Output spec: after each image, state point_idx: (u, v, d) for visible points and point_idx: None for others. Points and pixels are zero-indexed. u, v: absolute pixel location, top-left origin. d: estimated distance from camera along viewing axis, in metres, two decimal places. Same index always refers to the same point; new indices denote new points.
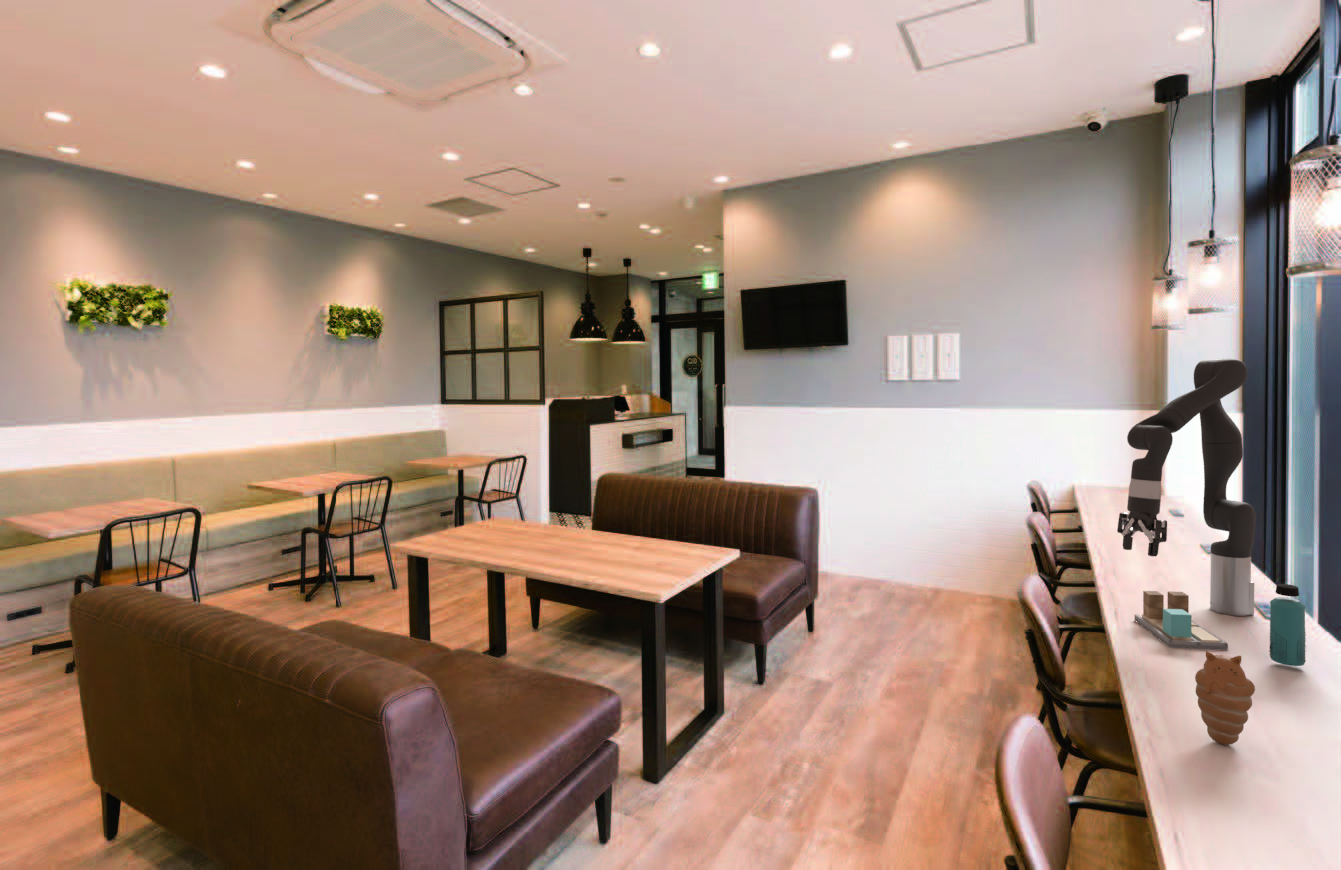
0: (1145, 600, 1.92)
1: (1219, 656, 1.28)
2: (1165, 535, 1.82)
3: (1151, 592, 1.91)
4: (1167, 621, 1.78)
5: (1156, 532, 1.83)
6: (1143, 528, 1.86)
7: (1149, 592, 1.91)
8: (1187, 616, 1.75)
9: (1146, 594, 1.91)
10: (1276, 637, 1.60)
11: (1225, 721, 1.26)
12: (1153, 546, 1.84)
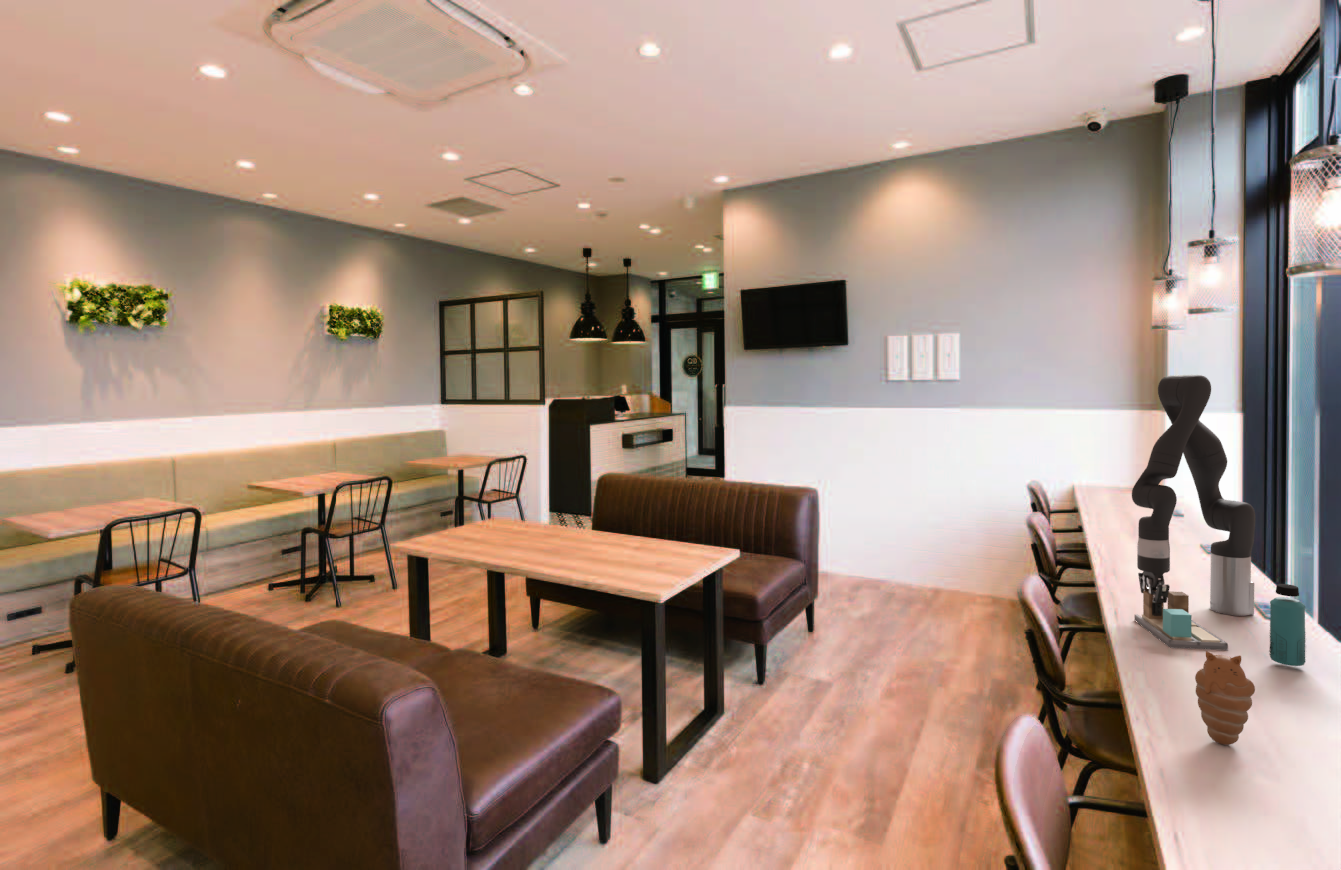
0: (1145, 600, 1.92)
1: (1219, 656, 1.28)
2: (1165, 598, 1.85)
3: None
4: (1167, 621, 1.78)
5: (1156, 594, 1.86)
6: (1149, 587, 1.89)
7: None
8: (1187, 616, 1.75)
9: (1146, 594, 1.91)
10: (1276, 637, 1.60)
11: (1225, 721, 1.26)
12: (1155, 606, 1.88)
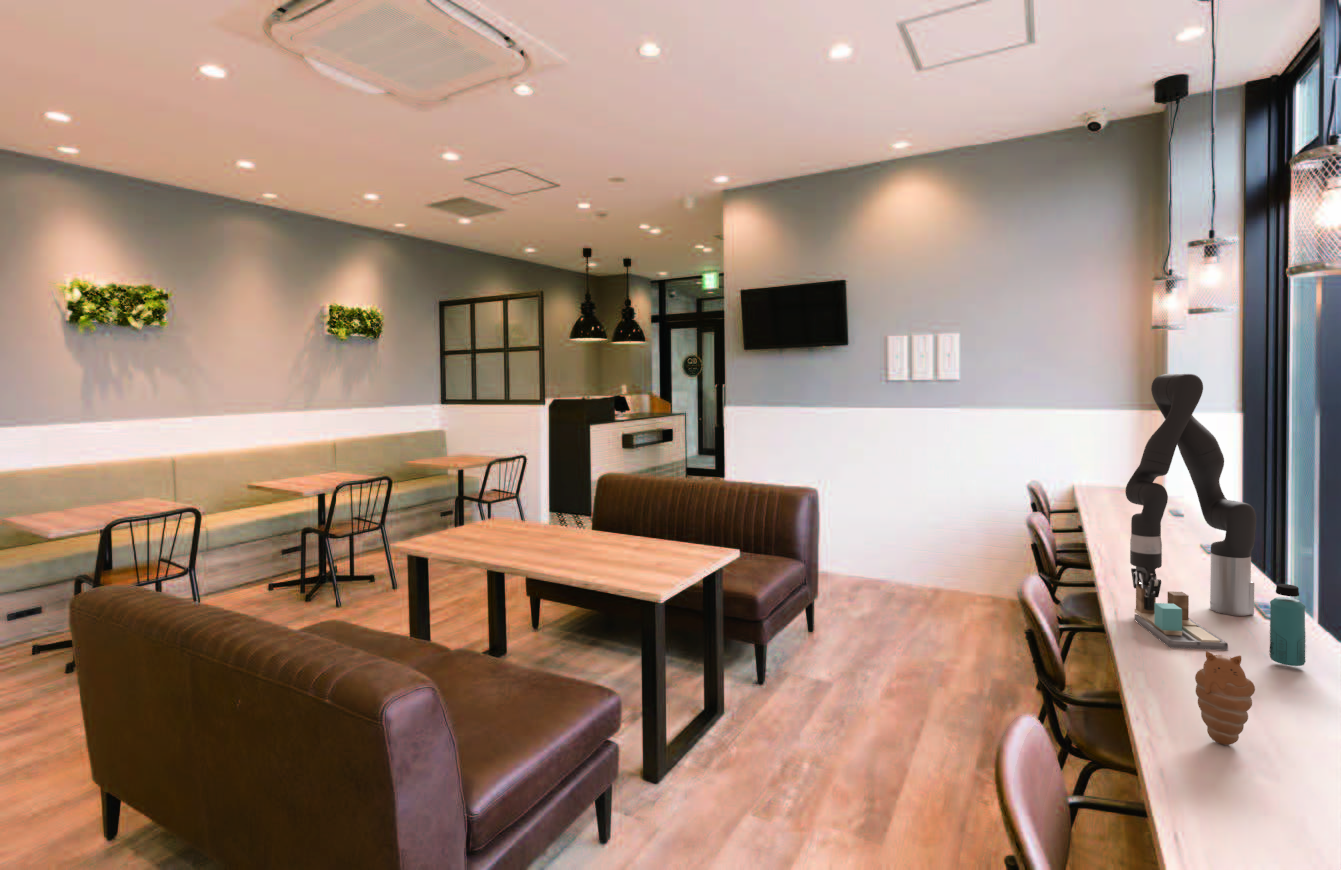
0: (1138, 595, 1.96)
1: (1219, 656, 1.28)
2: (1157, 592, 1.90)
3: None
4: (1159, 614, 1.83)
5: (1148, 589, 1.91)
6: (1141, 582, 1.94)
7: None
8: (1178, 610, 1.80)
9: (1138, 589, 1.96)
10: (1276, 637, 1.60)
11: (1225, 721, 1.26)
12: (1147, 601, 1.93)
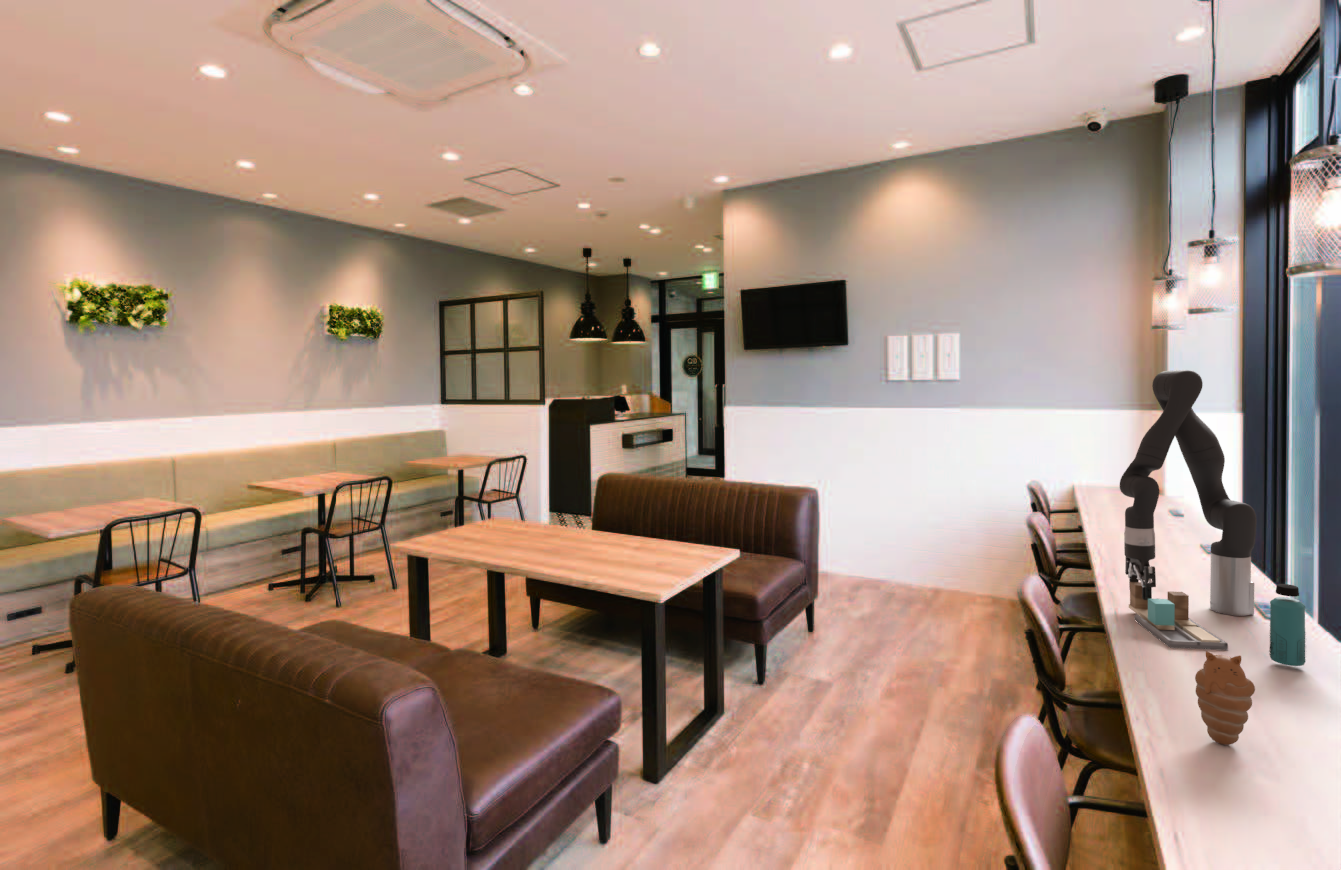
0: (1132, 591, 2.00)
1: (1219, 656, 1.28)
2: (1154, 581, 1.92)
3: (1137, 583, 2.00)
4: (1152, 610, 1.87)
5: (1144, 578, 1.93)
6: (1137, 573, 1.97)
7: (1135, 583, 2.00)
8: (1170, 605, 1.84)
9: (1132, 585, 2.00)
10: (1276, 637, 1.60)
11: (1225, 721, 1.26)
12: (1145, 590, 1.95)
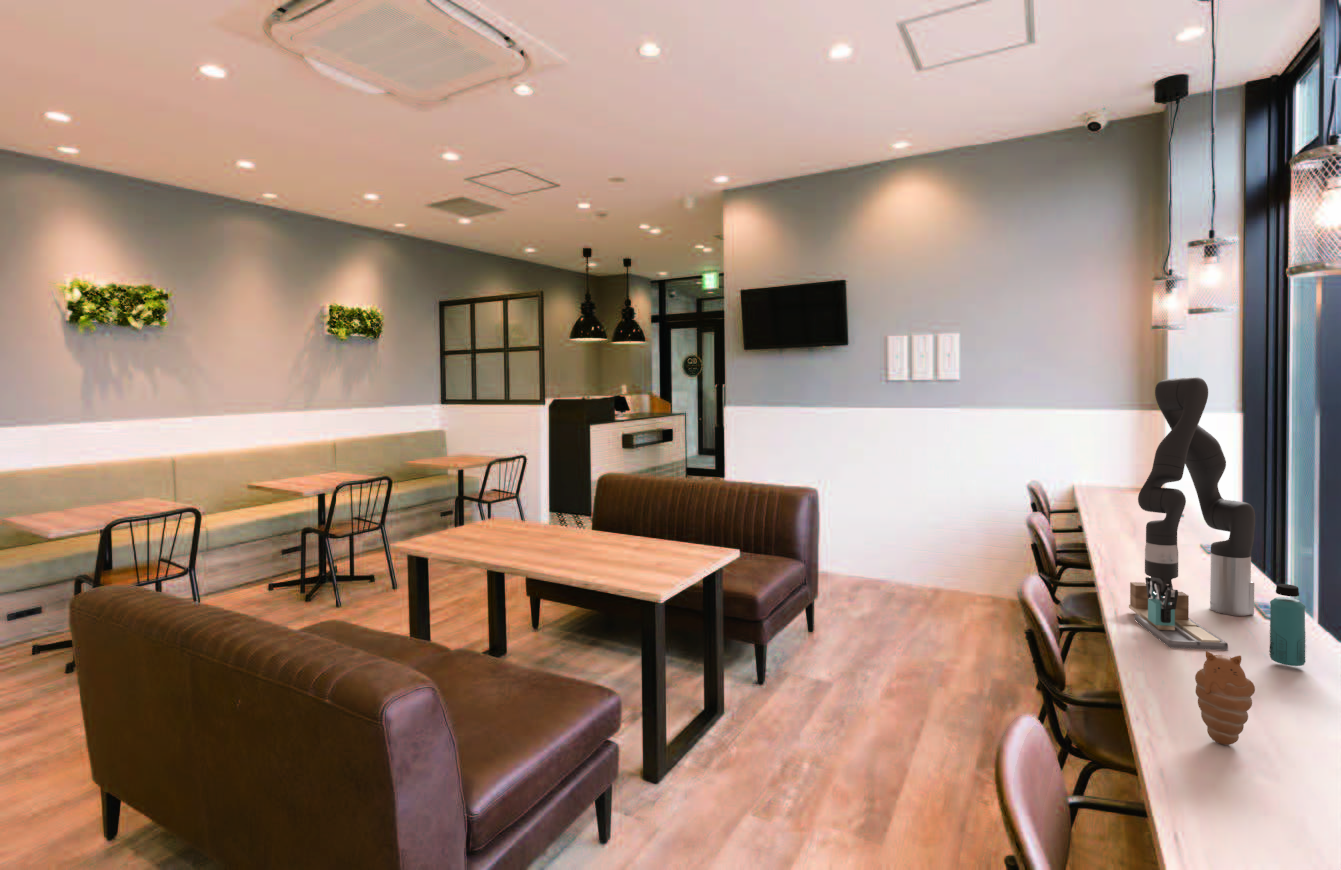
0: (1132, 591, 2.00)
1: (1219, 656, 1.28)
2: (1174, 604, 1.80)
3: (1138, 583, 1.99)
4: (1152, 610, 1.86)
5: (1165, 600, 1.81)
6: (1157, 593, 1.85)
7: (1136, 583, 2.00)
8: None
9: (1133, 585, 1.99)
10: (1276, 637, 1.60)
11: (1225, 721, 1.26)
12: (1164, 613, 1.83)
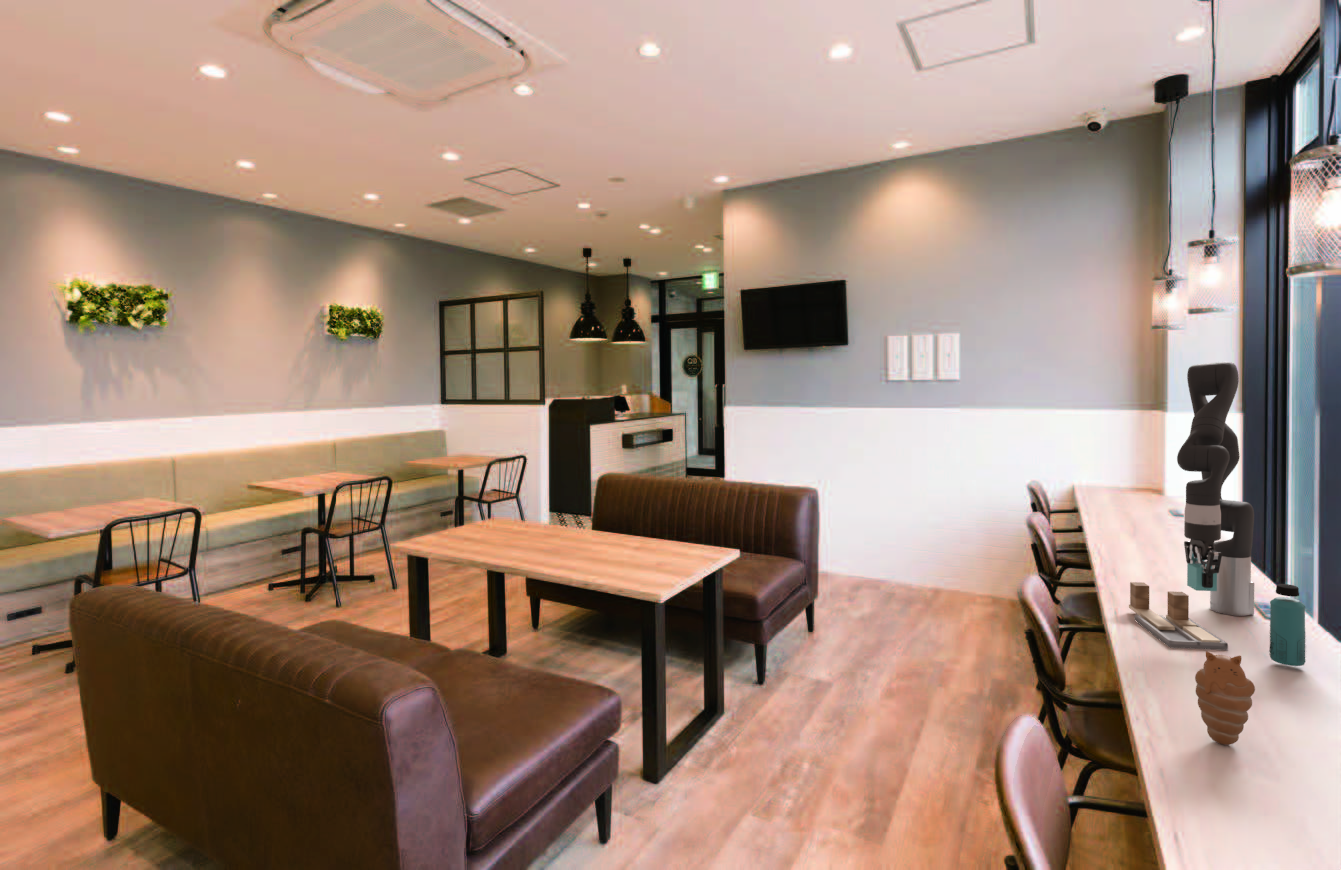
0: (1132, 591, 2.00)
1: (1219, 656, 1.28)
2: (1217, 567, 1.70)
3: (1138, 583, 1.99)
4: (1192, 575, 1.76)
5: (1207, 563, 1.71)
6: (1198, 556, 1.75)
7: (1136, 583, 2.00)
8: None
9: (1133, 585, 1.99)
10: (1276, 637, 1.60)
11: (1225, 721, 1.26)
12: (1206, 577, 1.73)
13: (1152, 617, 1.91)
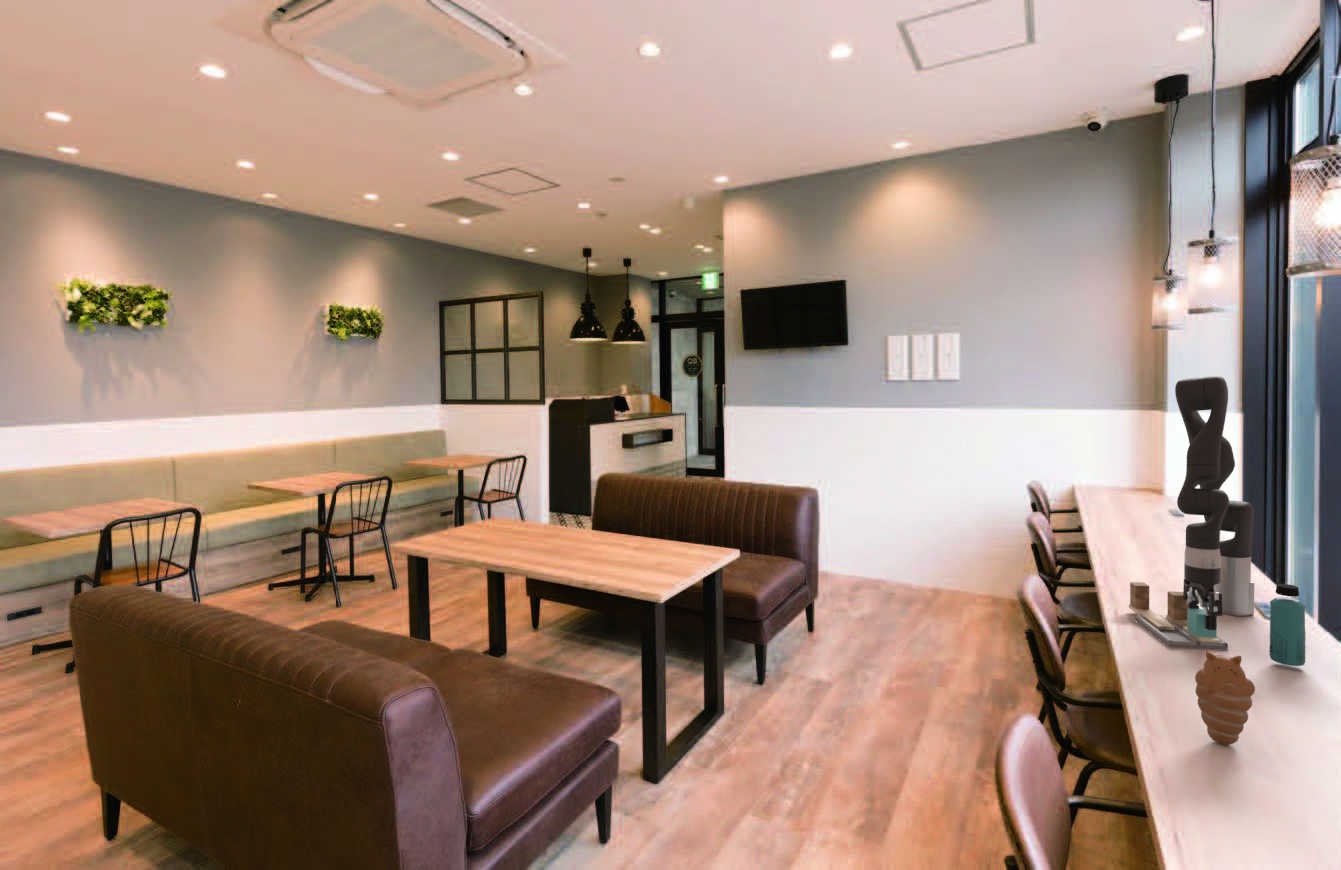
0: (1132, 591, 2.00)
1: (1219, 656, 1.28)
2: (1220, 609, 1.70)
3: (1138, 583, 1.99)
4: (1192, 620, 1.77)
5: (1209, 605, 1.71)
6: (1199, 599, 1.75)
7: (1136, 583, 2.00)
8: None
9: (1133, 585, 1.99)
10: (1276, 637, 1.60)
11: (1225, 721, 1.26)
12: (1209, 619, 1.72)
13: (1152, 617, 1.91)
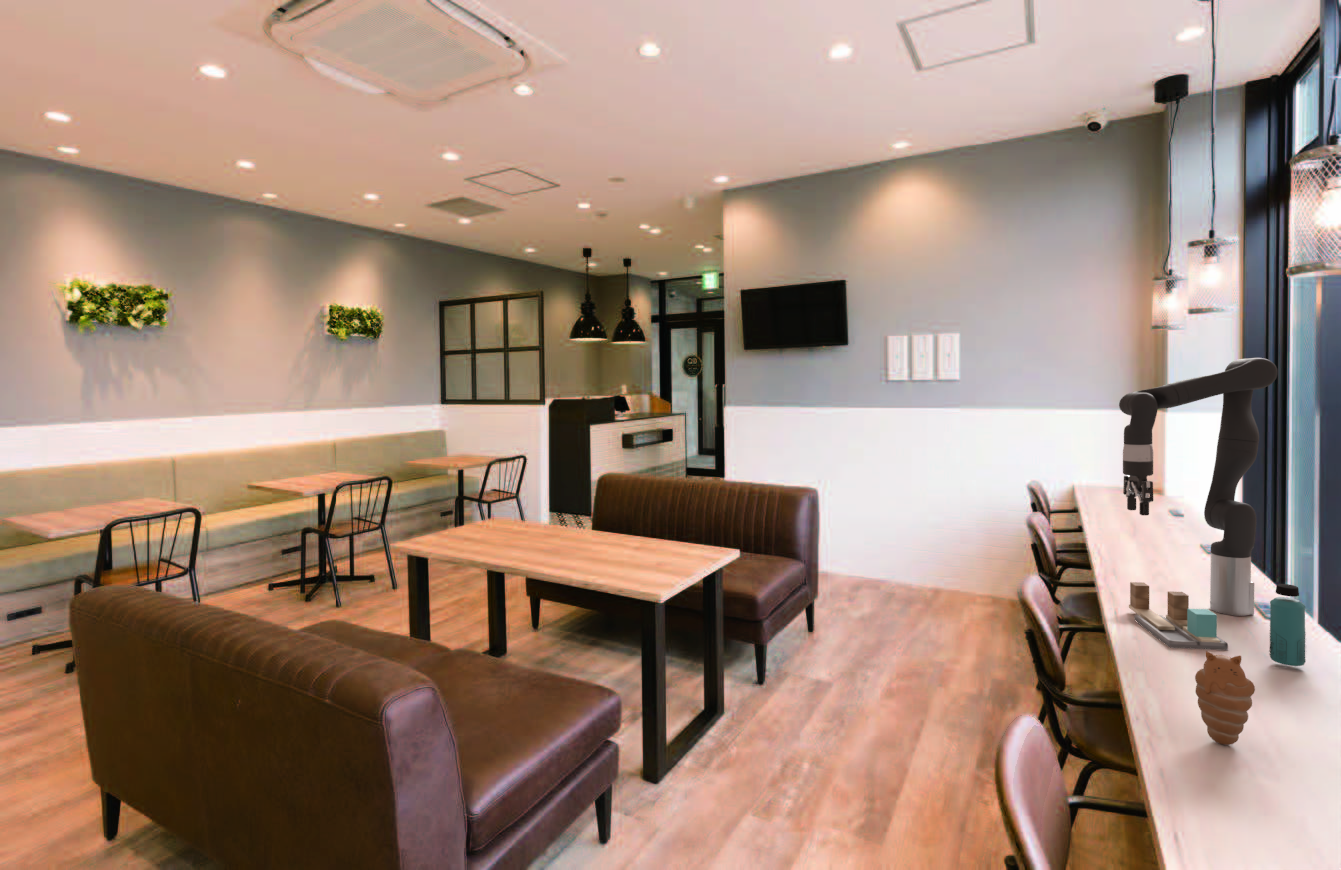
0: (1132, 591, 2.00)
1: (1219, 656, 1.28)
2: (1151, 495, 1.94)
3: (1138, 583, 1.99)
4: (1192, 620, 1.77)
5: (1142, 493, 1.95)
6: (1135, 489, 1.99)
7: (1136, 583, 2.00)
8: (1212, 616, 1.74)
9: (1133, 585, 1.99)
10: (1276, 637, 1.60)
11: (1225, 721, 1.26)
12: (1142, 506, 1.96)
13: (1152, 617, 1.91)
